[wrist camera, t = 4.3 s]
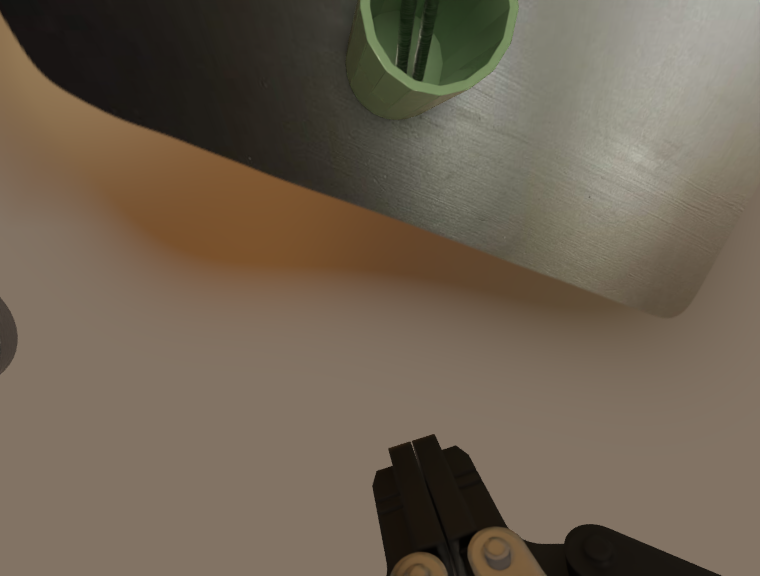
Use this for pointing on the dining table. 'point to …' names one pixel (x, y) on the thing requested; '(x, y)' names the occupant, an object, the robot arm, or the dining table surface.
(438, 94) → the green cup
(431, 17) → the tongs
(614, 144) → the dining table surface
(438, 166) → the dining table surface
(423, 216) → the dining table surface
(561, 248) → the dining table surface
